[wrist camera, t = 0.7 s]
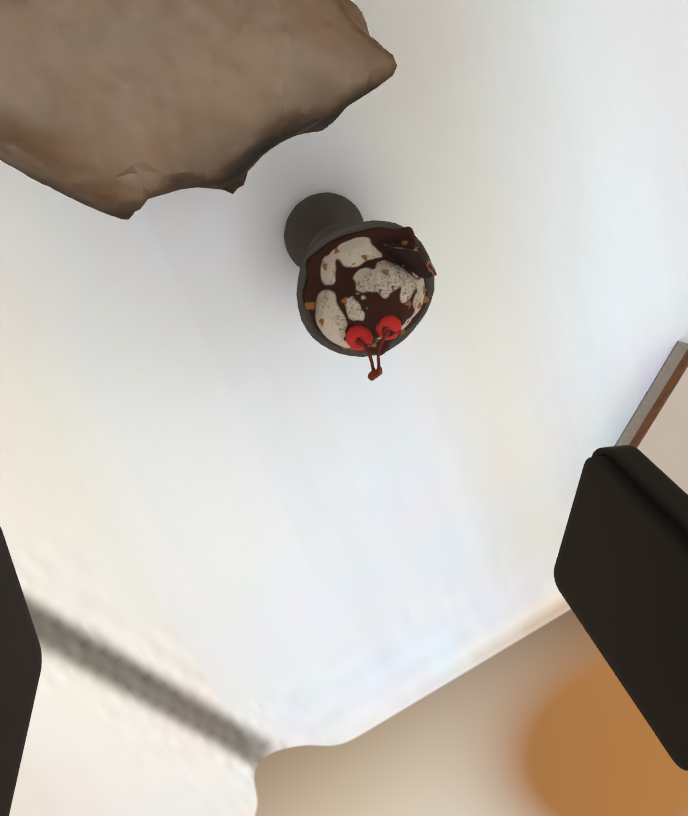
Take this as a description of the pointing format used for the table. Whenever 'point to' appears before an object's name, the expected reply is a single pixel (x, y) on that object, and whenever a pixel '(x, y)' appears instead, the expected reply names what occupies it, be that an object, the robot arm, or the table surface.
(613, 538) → the robot arm
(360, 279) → the sundae
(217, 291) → the table surface
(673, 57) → the table surface
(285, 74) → the brown craggy rock
